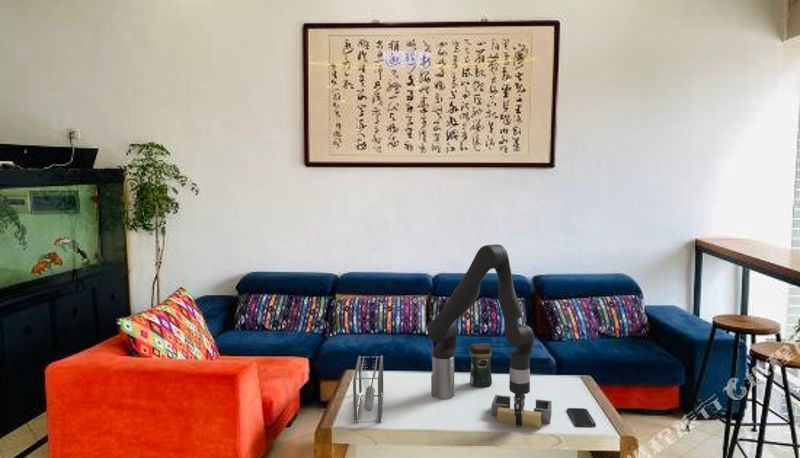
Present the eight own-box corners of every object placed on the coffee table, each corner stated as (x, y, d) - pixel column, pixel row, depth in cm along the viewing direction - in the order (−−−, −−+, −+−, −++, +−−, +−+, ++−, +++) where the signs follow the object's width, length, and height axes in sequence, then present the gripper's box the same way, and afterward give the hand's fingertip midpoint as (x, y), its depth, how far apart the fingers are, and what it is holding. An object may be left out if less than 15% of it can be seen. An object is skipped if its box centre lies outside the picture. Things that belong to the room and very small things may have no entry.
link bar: (497, 423, 213) (497, 410, 213) (498, 419, 216) (498, 407, 216) (540, 429, 208) (540, 416, 208) (541, 425, 212) (541, 412, 211)
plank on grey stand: (491, 416, 219) (491, 404, 219) (495, 406, 228) (495, 394, 228) (549, 423, 212) (550, 410, 212) (551, 413, 221) (551, 401, 221)
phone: (586, 408, 224) (596, 425, 209) (586, 411, 224) (596, 427, 209) (566, 408, 225) (574, 424, 210) (566, 410, 225) (574, 427, 210)
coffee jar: (489, 380, 257) (489, 340, 255) (493, 386, 249) (493, 346, 248) (468, 381, 256) (468, 341, 255) (472, 387, 249) (472, 347, 247)
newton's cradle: (359, 394, 244) (358, 354, 242) (383, 393, 244) (382, 353, 242) (353, 424, 214) (352, 379, 212) (381, 424, 214) (380, 379, 212)
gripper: (511, 371, 218) (511, 414, 220) (507, 384, 205) (506, 430, 207) (531, 373, 216) (531, 416, 218) (528, 386, 203) (527, 432, 204)
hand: (519, 422), depth 212 cm, fingers closed on link bar, 3 cm apart
